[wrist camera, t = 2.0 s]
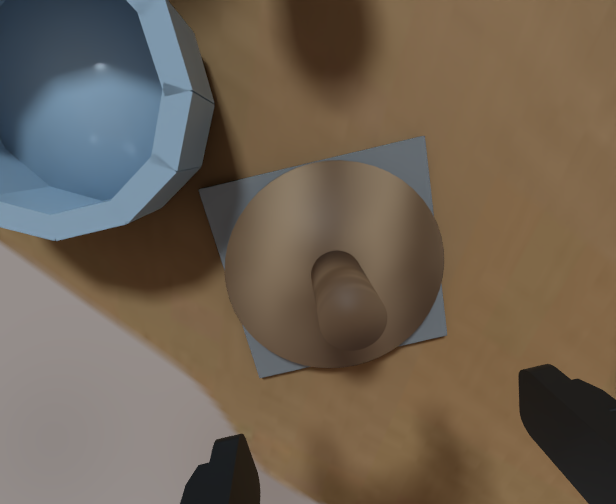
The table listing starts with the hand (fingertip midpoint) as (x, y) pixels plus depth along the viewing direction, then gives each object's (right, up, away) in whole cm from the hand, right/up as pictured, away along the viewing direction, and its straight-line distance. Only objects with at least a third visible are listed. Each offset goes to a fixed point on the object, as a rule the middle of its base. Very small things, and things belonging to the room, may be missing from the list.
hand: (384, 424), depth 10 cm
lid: (0, +4, +13) cm, 13 cm away
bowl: (-14, +14, +9) cm, 22 cm away
